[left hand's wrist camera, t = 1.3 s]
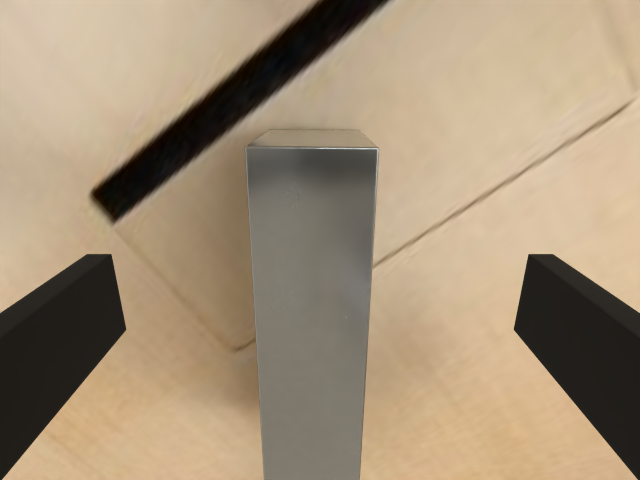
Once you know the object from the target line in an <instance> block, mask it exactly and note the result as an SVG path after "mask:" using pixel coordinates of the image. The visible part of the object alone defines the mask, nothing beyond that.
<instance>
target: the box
mask: <svg viewBox="0 0 640 480" xmlns="http://www.w3.org/2000/svg"><path fill="white" fill-rule="evenodd" d="M245 159H246V177H247V194H248V211H249V229H250V246H251V263H252V281H253V298H254V315H255V332H256V350H257V367H258V384H259V402H260V419H261V436H262V454H263V471H264V480H360V466H361V449H362V432H363V415H364V398H365V381H366V364H367V347H368V330H369V313H370V296H371V279H372V262H373V245H374V228H375V211H376V194H377V177H378V160H379V148H378V147H377V146H376V145H375V144H374V143H373V142H372V141H371V140H370V139H369V138H368V137H366V136H365V135H364V134H363V133H362V132H361V131H360V130H269V131H267V132H266V133H264V134H263V135H261V136H260V137H259V138H257V139H256V140H254V141H253V142H251V143H250V144H248V145H247V146H246V147H245Z"/></svg>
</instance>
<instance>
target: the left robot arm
mask: <svg viewBox="0 0 640 480" xmlns="http://www.w3.org/2000/svg"><path fill="white" fill-rule="evenodd" d="M125 331H126V326H125V321H124V316H123V311H122V306H121V300H120V295H119V290H118V285H117V280H116V275H115V270H114V265H113V260H112V255H111V254H87V255H85V256H84V257H82V258H81V259H79V260H78V261H76V262H75V263H73V264H72V265H70V266H69V267H68V268H66V269H65V270H63V271H62V272H60V273H59V274H57V275H56V276H54V277H53V278H51V279H50V280H48V281H47V282H45V283H44V284H43V285H41V286H40V287H38V288H37V289H35V290H34V291H32V292H31V293H29V294H28V295H26V296H25V297H23V298H22V299H20V300H19V301H18V302H16V303H15V304H13V305H12V306H10V307H9V308H7V309H6V310H4V311H3V312H1V313H0V480H2V479H3V478H4V477H5V475H6V474H7V473H8V472H9V471H10V469H11V468H12V467H13V466H14V465H15V463H16V462H17V461H18V460H19V458H20V457H21V456H22V455H23V454H24V452H25V451H26V450H27V449H28V448H29V446H30V445H31V444H32V443H33V442H34V440H35V439H36V438H37V437H38V436H39V434H40V433H41V432H42V431H43V430H44V428H45V427H46V426H47V425H48V423H49V422H50V421H51V420H52V419H53V417H54V416H55V415H56V414H57V413H58V411H59V410H60V409H61V408H62V407H63V405H64V404H65V403H66V402H67V401H68V399H69V398H70V397H71V396H72V395H73V393H74V392H75V391H76V390H77V388H78V387H79V386H80V385H81V384H82V382H83V381H84V380H85V379H86V378H87V376H88V375H89V374H90V373H91V372H92V370H93V369H94V368H95V367H96V366H97V364H98V363H99V362H100V361H101V360H102V358H103V357H104V356H105V355H106V354H107V352H108V351H109V350H110V349H111V347H112V346H113V345H114V344H115V343H116V341H117V340H118V339H119V338H120V337H121V335H122V334H123V333H124V332H125ZM514 331H515V332H516V333H517V334H518V335H519V337H520V338H521V339H522V340H523V341H524V343H525V344H526V345H527V346H528V347H529V349H530V350H531V351H532V352H533V354H534V355H535V356H536V357H537V358H538V360H539V361H540V362H541V363H542V364H543V366H544V367H545V368H546V369H547V370H548V372H549V373H550V374H551V375H552V376H553V378H554V379H555V380H556V381H557V382H558V384H559V385H560V386H561V387H562V388H563V390H564V391H565V392H566V393H567V395H568V396H569V397H570V398H571V399H572V401H573V402H574V403H575V404H576V405H577V407H578V408H579V409H580V410H581V411H582V413H583V414H584V415H585V416H586V417H587V419H588V420H589V421H590V422H591V423H592V425H593V426H594V427H595V428H596V430H597V431H598V432H599V433H600V434H601V436H602V437H603V438H604V439H605V440H606V442H607V443H608V444H609V445H610V446H611V448H612V449H613V450H614V451H615V452H616V454H617V455H618V456H619V457H620V458H621V460H622V461H623V462H624V463H625V465H626V466H627V467H628V468H629V469H630V471H631V472H632V473H633V474H634V475H635V477H636V478H637V479H638V480H640V313H639V312H637V311H636V310H634V309H633V308H631V307H630V306H628V305H627V304H625V303H624V302H622V301H621V300H620V299H618V298H617V297H615V296H614V295H612V294H611V293H609V292H608V291H606V290H605V289H603V288H602V287H600V286H599V285H597V284H596V283H595V282H593V281H592V280H590V279H589V278H587V277H586V276H584V275H583V274H581V273H580V272H578V271H577V270H575V269H574V268H572V267H571V266H570V265H568V264H567V263H565V262H564V261H562V260H561V259H559V258H558V257H556V256H555V255H553V254H529V255H528V260H527V265H526V270H525V275H524V280H523V285H522V290H521V295H520V300H519V306H518V311H517V316H516V321H515V326H514Z"/></svg>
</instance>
